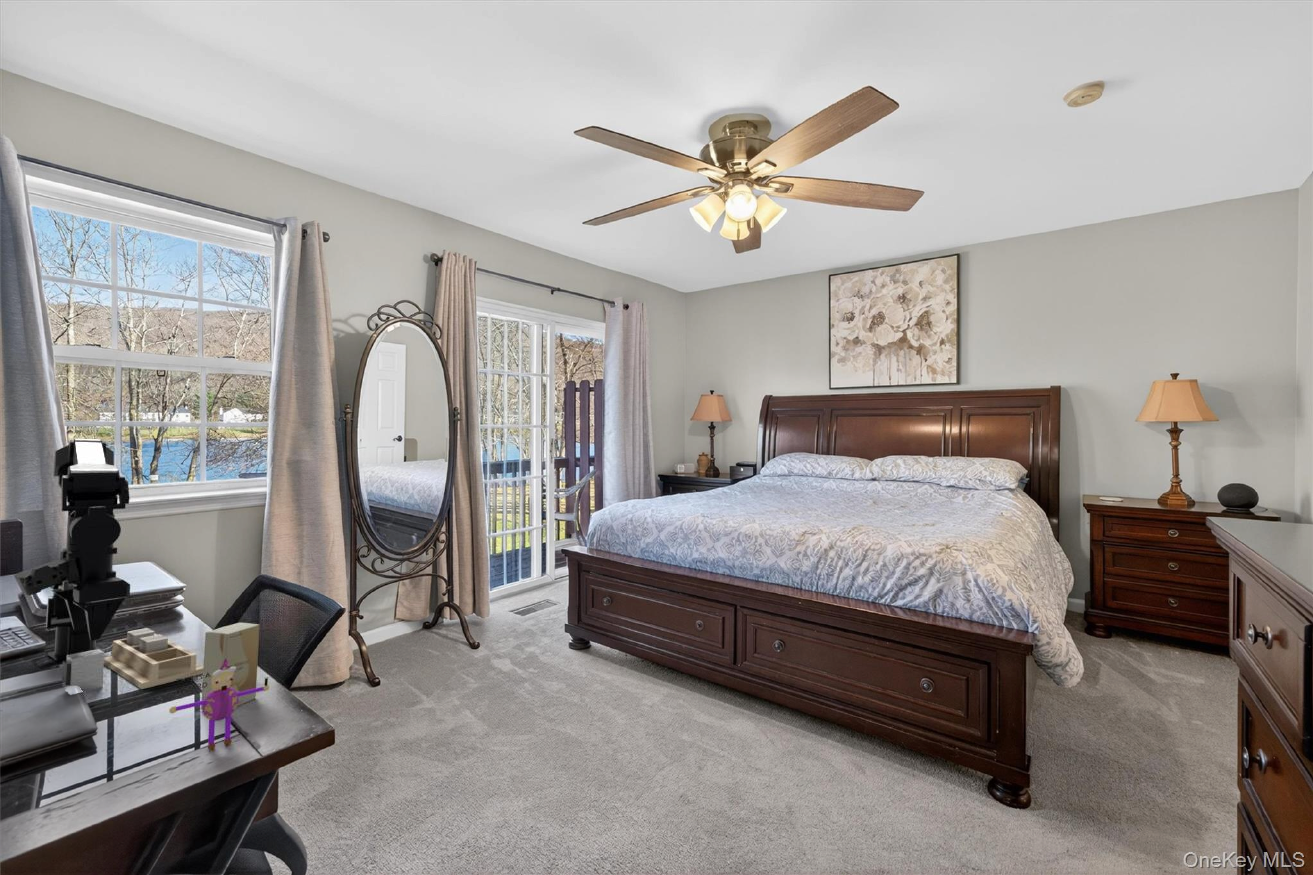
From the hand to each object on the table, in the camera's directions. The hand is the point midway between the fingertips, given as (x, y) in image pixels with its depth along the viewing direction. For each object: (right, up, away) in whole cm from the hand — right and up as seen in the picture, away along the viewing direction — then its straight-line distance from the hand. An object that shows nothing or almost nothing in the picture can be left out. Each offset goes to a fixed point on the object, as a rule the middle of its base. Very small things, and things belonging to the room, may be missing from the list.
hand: (86, 634), depth 99 cm
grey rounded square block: (0, -9, 0) cm, 9 cm away
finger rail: (+3, -10, +10) cm, 14 cm away
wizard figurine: (+36, -9, -18) cm, 42 cm away
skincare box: (+28, -10, -5) cm, 30 cm away
